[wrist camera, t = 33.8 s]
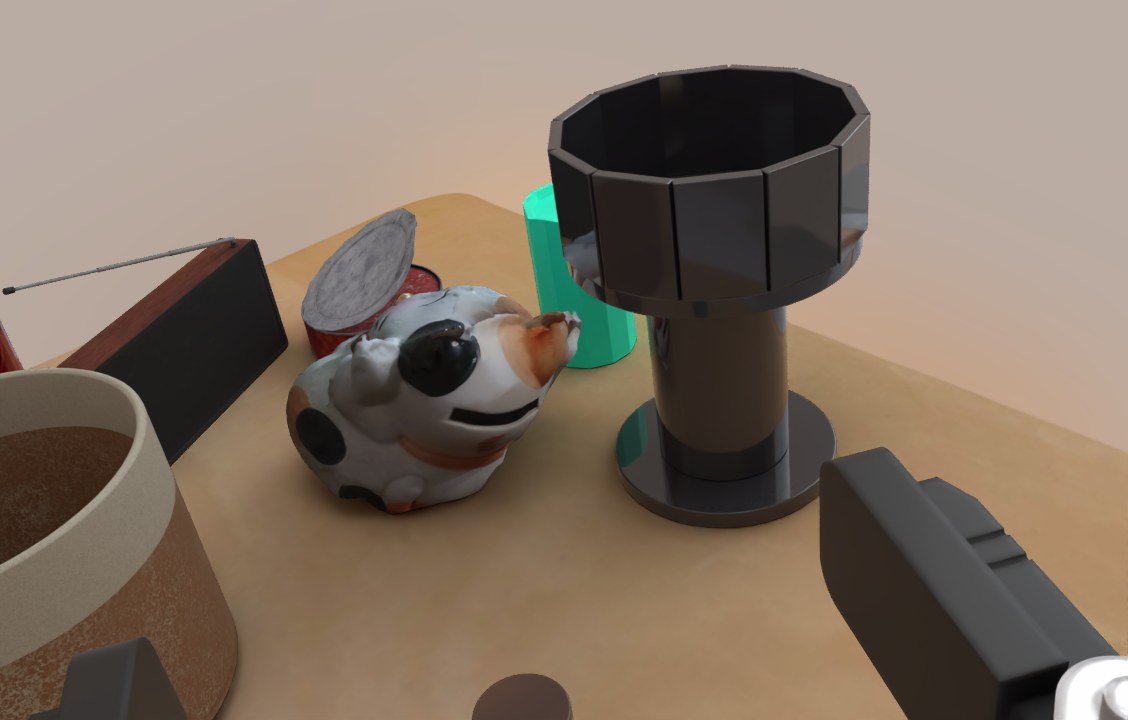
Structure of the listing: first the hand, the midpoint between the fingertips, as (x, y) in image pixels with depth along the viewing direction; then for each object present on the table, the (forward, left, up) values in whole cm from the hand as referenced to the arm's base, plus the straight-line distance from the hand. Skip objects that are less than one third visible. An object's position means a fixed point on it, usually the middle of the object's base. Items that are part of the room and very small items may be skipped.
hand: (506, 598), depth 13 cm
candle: (+28, -43, -28) cm, 58 cm away
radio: (+48, -26, -28) cm, 61 cm away
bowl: (+15, -35, -28) cm, 47 cm away
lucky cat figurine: (+30, -30, -28) cm, 51 cm away
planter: (+35, -7, -28) cm, 45 cm away
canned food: (+43, -39, -28) cm, 64 cm away
